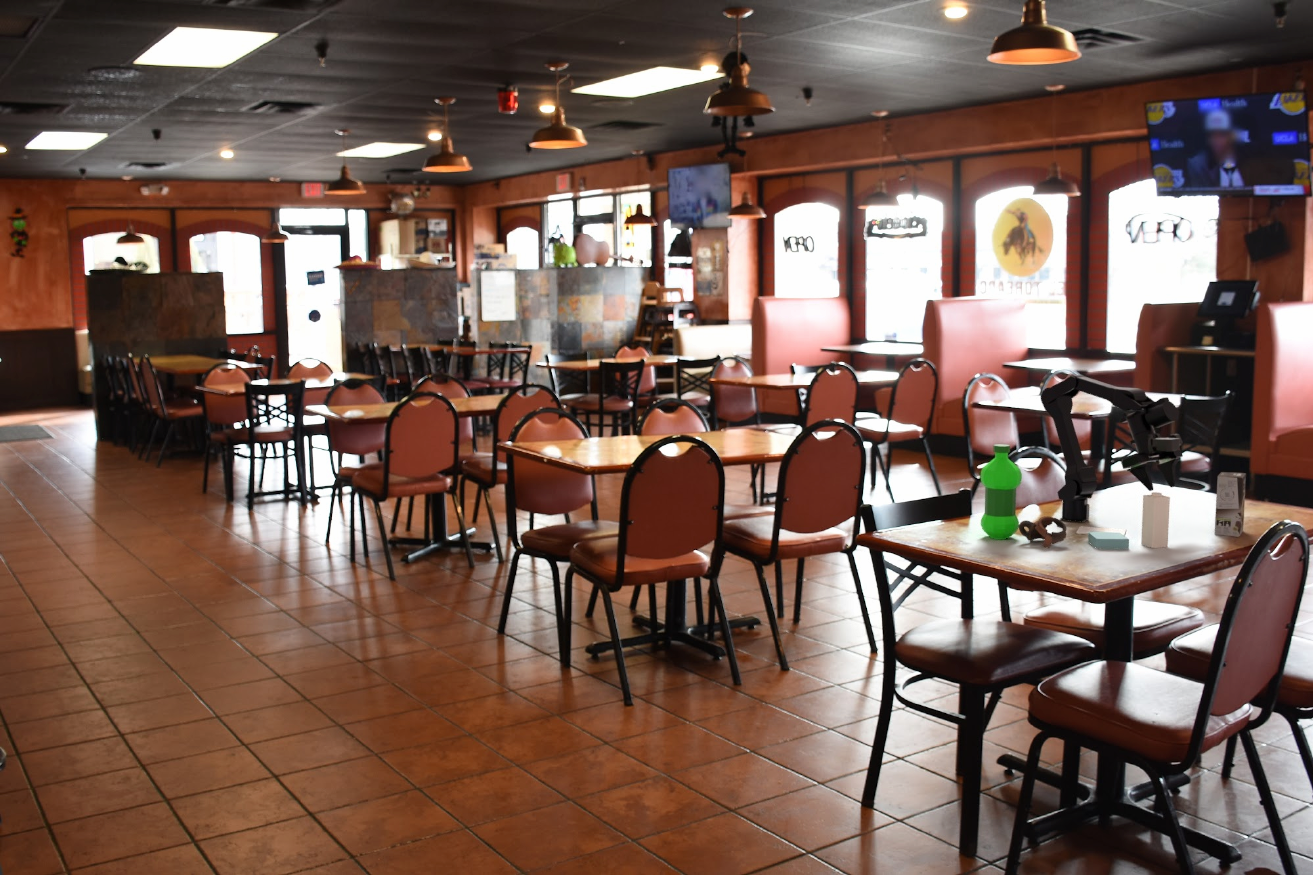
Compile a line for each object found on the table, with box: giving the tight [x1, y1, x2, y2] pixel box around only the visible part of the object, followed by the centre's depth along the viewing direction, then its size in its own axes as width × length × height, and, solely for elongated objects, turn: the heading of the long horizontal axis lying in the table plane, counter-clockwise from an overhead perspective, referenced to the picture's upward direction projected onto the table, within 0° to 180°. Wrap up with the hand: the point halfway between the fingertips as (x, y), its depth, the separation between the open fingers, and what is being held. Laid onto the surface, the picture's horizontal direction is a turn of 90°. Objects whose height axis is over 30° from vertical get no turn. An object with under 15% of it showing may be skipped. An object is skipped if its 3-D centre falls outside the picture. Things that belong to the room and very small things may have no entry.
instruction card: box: [1076, 525, 1127, 536], centre depth 324 cm, size 12×9×1 cm
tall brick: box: [1140, 491, 1171, 549], centre depth 306 cm, size 4×4×14 cm
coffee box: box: [1214, 471, 1247, 538], centre depth 320 cm, size 9×6×16 cm
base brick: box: [1087, 532, 1130, 550], centre depth 308 cm, size 8×8×3 cm
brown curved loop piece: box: [1018, 516, 1067, 548], centre depth 310 cm, size 12×10×8 cm
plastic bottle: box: [980, 443, 1023, 540], centre depth 318 cm, size 10×10×25 cm
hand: (1162, 488), depth 316 cm, fingers open, 9 cm apart
